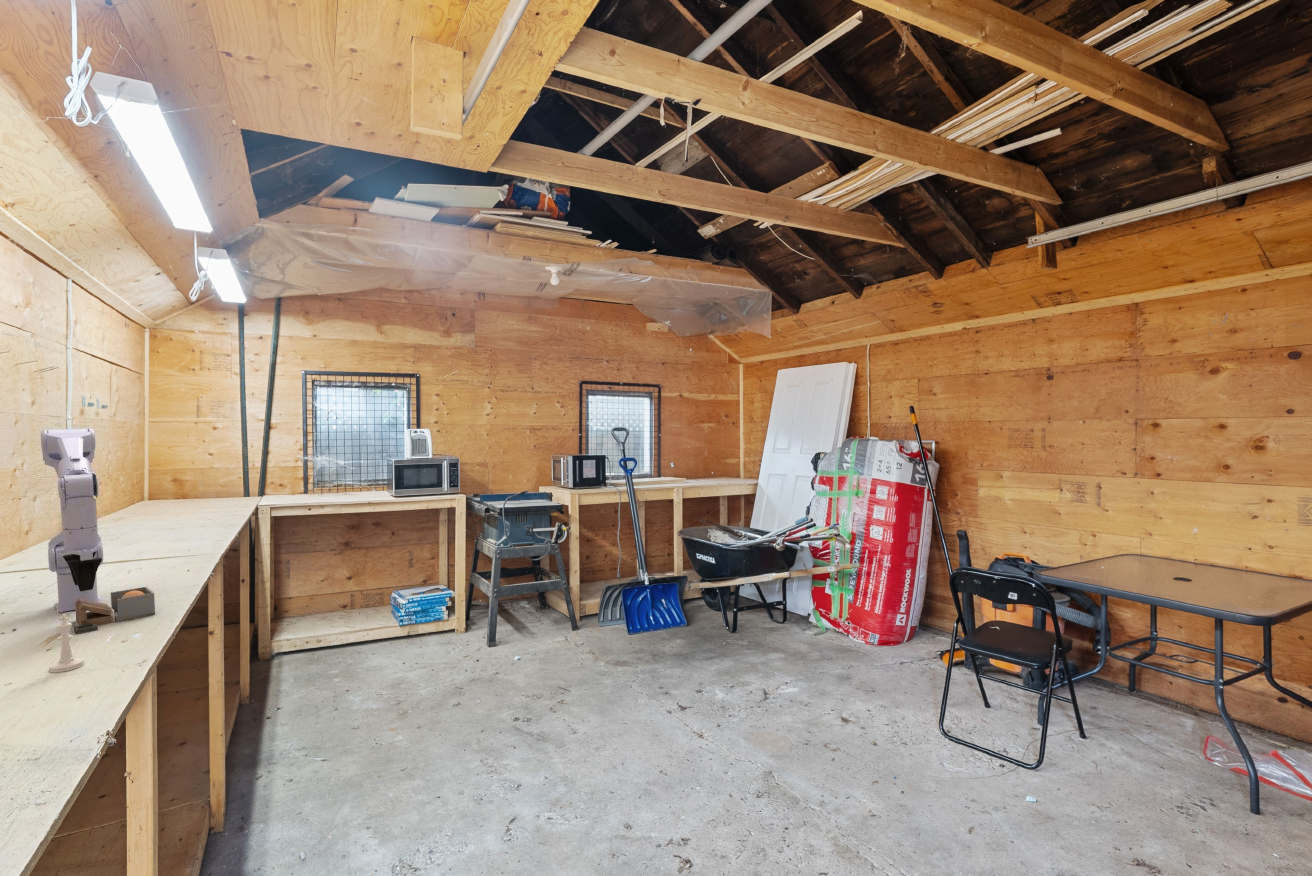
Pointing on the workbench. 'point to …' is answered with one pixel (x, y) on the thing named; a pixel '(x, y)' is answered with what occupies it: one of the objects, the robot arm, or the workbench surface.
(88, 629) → the dark gray picture frame
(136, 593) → the ball
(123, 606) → the gray open storage bin
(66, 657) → the chess piece
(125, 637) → the workbench surface
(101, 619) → the ramp
